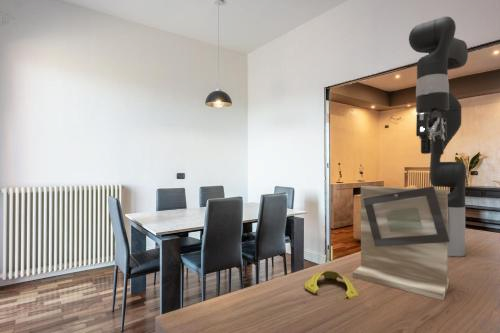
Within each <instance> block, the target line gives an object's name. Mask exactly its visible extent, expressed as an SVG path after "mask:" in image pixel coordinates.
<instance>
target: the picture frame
mask: <svg viewBox="0 0 500 333" xmlns="http://www.w3.org/2000/svg"><path fill="white" fill-rule="evenodd" d="M435 189H436V188H435V186H432V185H431V186H426V187H420V188H416V189H414V190H408V191H403V192H397V193H391V194H385V195H379V196H374V197H368V198H363V200H364V204H365V208H366V212H367V216H368V220H369V224H370V228H371V232H372V236H373V240H374V244H375V247H378V246H394V245H411V244H427V243H443V242H449V241H450V239H449V236H448V232H447V229H446V226H445V222H444V219H443V215H442V212H441V209H440V205H439V202H438V198H437V195H436V191H435Z"/></svg>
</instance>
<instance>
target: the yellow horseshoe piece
mask: <svg viewBox="0 0 500 333" xmlns="http://www.w3.org/2000/svg"><path fill="white" fill-rule="evenodd" d="M321 276H323V277H324V279H333V280H337V279H338V278H339V279H340V280H343V282H344V284H345V285H346V287H347V290H346V291H345V294H346V296H344V297H341V299H342V300H343V299H346V298H348V299H349V300H351V299H355V298H357V297H359V292H358V290H357V289H356V288H355V286H354V285H353V284H352V282H351V281H350V280H349V278H347V277H346V276H344V275H342V274H341V273H339V272H337V271H334V270H324V271H323V270H322V271H320V272H317V273H315V274H314V275H312V277H310V278H309V279H308V280H307V281H306V282H304V288H305V289H306V290H307V291H309V292H310V293H313V294H316V293H317V295H318V296H320V295H319V291H318V290H319V289H320V288H319V286H318V285H317V284H318V281H319V278H320V277H321Z"/></svg>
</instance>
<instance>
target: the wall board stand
mask: <svg viewBox="0 0 500 333" xmlns="http://www.w3.org/2000/svg"><path fill="white" fill-rule="evenodd" d="M414 189H417V187H415V188H413V187H412V188H411V187H393V186H391V187H390V186H388V187H387V186H369V185H368V186H367V185H361V186H360V265H359V267H357V268H356V269H355V270H354V271H352V278H354V279H357V280H358V279H359V280H362V281H365V282H366V281H367V282H370V283H374V284H378V285H381V286H385V287H389V288H393V289H397V290H400V291H401V290H402V291H405V292H409V293H414V294H418V295H422V296H425V297H429V298H432V299H436V300H440V301H444V300H445V297H446V294H447V291H448V288H449V285H450V278H448V276H449V275H448V274H449V272H448V270H449V269H448V267H449V266H448V264H449V263H448V257H449V256H448V242H443V243H427V244H411V245H394V246H378V247H375V244H374V240H373V236H372V232H371V228H370V224H369V220H368V216H367V212H366V208H365V204H364V200H363V198H368V197H374V196H379V195H385V194H391V193H397V192H403V191H408V190H414ZM435 191H436V195H437V198H438V202H439V205H440V209H441V212H442V215H443V219H444V222H445V226H446V229H447V232H448V194H449V193H448V189H437V188H435Z"/></svg>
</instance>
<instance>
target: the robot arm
mask: <svg viewBox="0 0 500 333" xmlns="http://www.w3.org/2000/svg"><path fill="white" fill-rule="evenodd" d="M456 26H457V25H456V22H455V20H454V19H453V18H452V17H451V16H441V17H439V18H436V19H433V20H429V21H426V22H421V23H419V24H417V25H415V26H414V27H412V29H411V31H410V33H409V35H408V42H409V46H410V48H411V49H412V50H414V51H415V52H417V53H420V54H426V55H424V56H422V57H420V58H419V59H418V61H417V63H416V88H415V110H416V111H415V112H416V113H417V114H416V123H415V124H416V125H415V126H416V131H415V134H416V137H418V138H419V140H420V153H421V154H422V155H427V154H430V163H429V181H430V185H431V187H432V186H434V188H435V187H437V188H453V190H452V191H451V192H449V193H448V236H449V239H450V241H449V242H448V257H457V258H458V257H465V256H466V184H467V183H466V181H467V166H466V164H465V163H464V162H463V161H441V158H442V155H444V151H445V149H446V148H447V146H448V144H449V143H450V141H451V140H452V139H453V138H454V136H455V135H456V134H457V133H458V131H459V129H460V128H461V125H462V105H461V103H460V101H459V100H458V99H457V97H456V96H455V95H454V94H453V93H452V91H450V83H449V77H448V75H449V74H448V71H449V70H455V69H460V68H462V67H464V66H465V65H466V64H467V61H468V57H469V49H468V45H467V42H466V41H464V40H462V39H459V38H456V37H455V34H456V31H457V29H456V28H457V27H456Z"/></svg>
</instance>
